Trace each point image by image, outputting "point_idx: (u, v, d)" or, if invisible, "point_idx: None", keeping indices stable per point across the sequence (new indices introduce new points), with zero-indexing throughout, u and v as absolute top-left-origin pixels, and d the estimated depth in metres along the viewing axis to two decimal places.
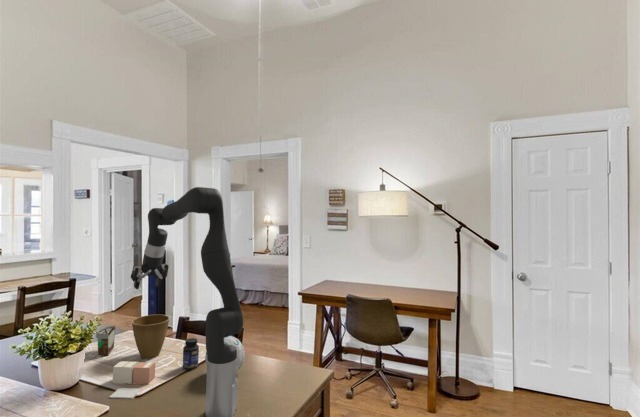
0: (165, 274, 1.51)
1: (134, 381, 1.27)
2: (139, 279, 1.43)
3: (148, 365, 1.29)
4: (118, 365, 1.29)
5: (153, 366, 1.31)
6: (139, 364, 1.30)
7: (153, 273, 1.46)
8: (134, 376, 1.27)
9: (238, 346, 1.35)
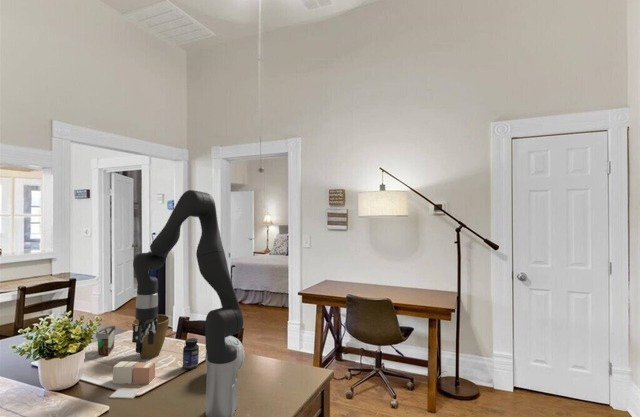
0: (156, 327, 1.36)
1: (134, 381, 1.27)
2: (142, 339, 1.26)
3: (148, 365, 1.29)
4: (118, 365, 1.29)
5: (153, 366, 1.31)
6: (139, 364, 1.30)
7: (150, 328, 1.31)
8: (134, 376, 1.27)
9: (238, 346, 1.35)
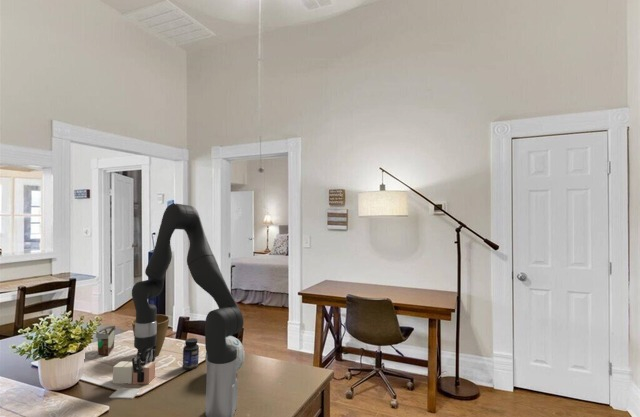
0: (154, 357, 1.35)
1: (134, 381, 1.27)
2: (143, 368, 1.27)
3: (148, 365, 1.29)
4: (118, 365, 1.29)
5: (153, 366, 1.31)
6: None
7: (148, 356, 1.30)
8: (134, 376, 1.27)
9: (238, 346, 1.35)
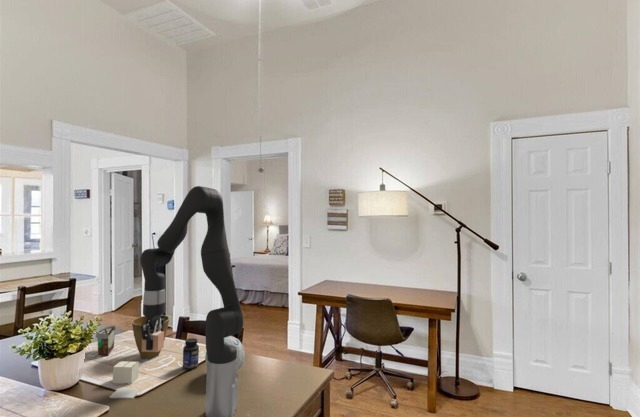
0: (162, 327, 1.34)
1: (143, 349, 1.27)
2: (152, 336, 1.26)
3: (157, 333, 1.29)
4: (118, 365, 1.29)
5: (162, 334, 1.30)
6: None
7: (156, 325, 1.29)
8: (143, 344, 1.27)
9: (238, 346, 1.35)
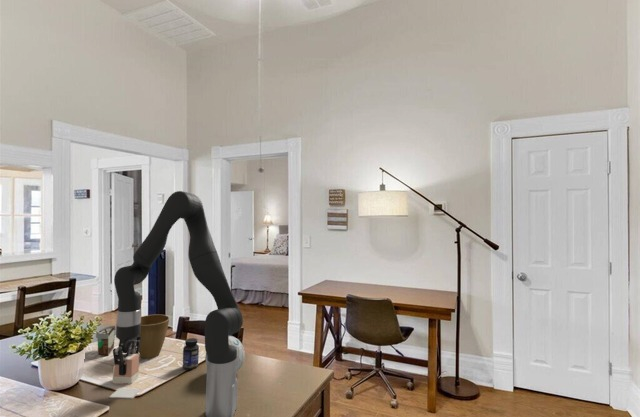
0: (138, 349, 1.25)
1: (116, 374, 1.18)
2: (126, 360, 1.18)
3: (131, 357, 1.20)
4: None
5: (136, 358, 1.21)
6: None
7: (131, 348, 1.21)
8: (116, 368, 1.18)
9: (238, 346, 1.35)
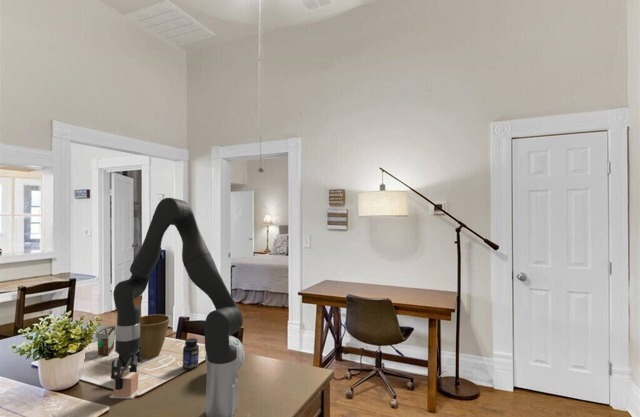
0: (139, 358, 1.27)
1: (115, 393, 1.18)
2: (122, 374, 1.16)
3: (130, 375, 1.20)
4: None
5: (136, 376, 1.21)
6: None
7: (131, 361, 1.21)
8: None
9: (238, 346, 1.35)
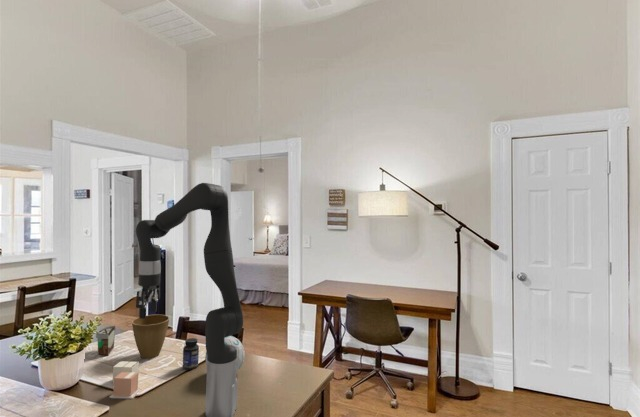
0: (159, 295, 1.37)
1: (115, 393, 1.18)
2: (146, 305, 1.26)
3: (130, 375, 1.20)
4: (118, 365, 1.29)
5: (136, 376, 1.21)
6: (121, 374, 1.21)
7: (152, 296, 1.32)
8: (115, 387, 1.18)
9: (238, 346, 1.35)
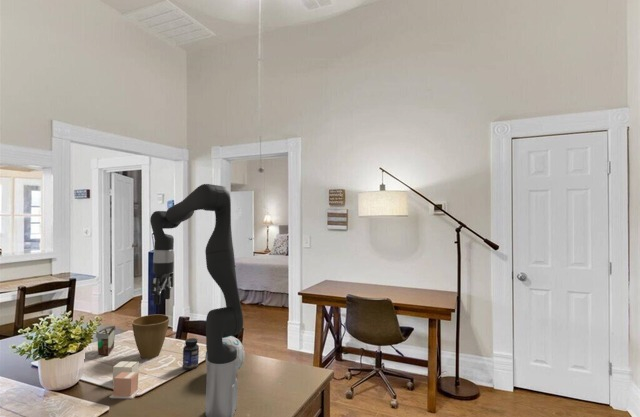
0: (172, 283, 1.44)
1: (115, 393, 1.18)
2: (160, 291, 1.33)
3: (130, 375, 1.20)
4: (118, 365, 1.29)
5: (136, 376, 1.21)
6: (121, 374, 1.21)
7: (166, 283, 1.38)
8: (115, 387, 1.18)
9: (238, 346, 1.35)
